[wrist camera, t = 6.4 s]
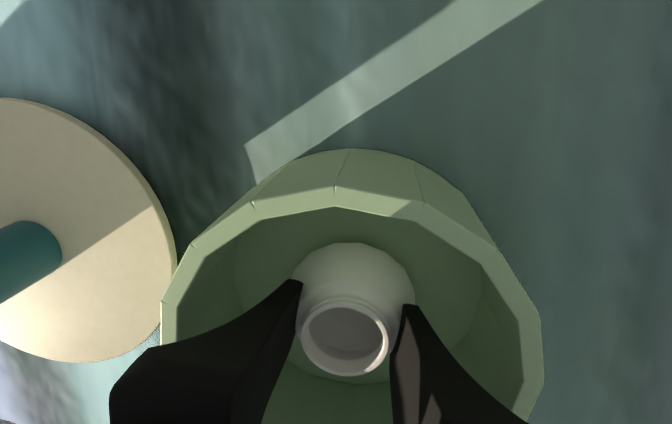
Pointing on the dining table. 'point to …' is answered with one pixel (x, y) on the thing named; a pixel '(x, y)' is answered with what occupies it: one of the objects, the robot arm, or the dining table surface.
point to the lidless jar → (350, 306)
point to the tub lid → (76, 240)
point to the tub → (379, 232)
